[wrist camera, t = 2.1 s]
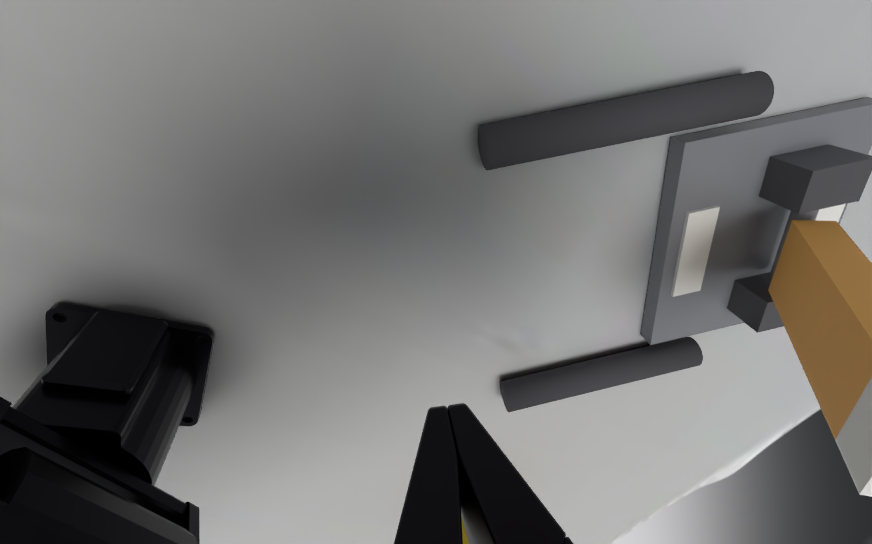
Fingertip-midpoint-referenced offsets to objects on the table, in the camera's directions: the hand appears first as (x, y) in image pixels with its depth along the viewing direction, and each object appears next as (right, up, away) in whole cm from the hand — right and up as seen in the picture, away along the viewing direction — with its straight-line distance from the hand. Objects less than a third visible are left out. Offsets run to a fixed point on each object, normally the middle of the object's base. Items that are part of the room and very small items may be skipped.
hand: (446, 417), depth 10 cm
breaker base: (+17, +6, +14) cm, 23 cm away
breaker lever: (+18, +5, +12) cm, 22 cm away
